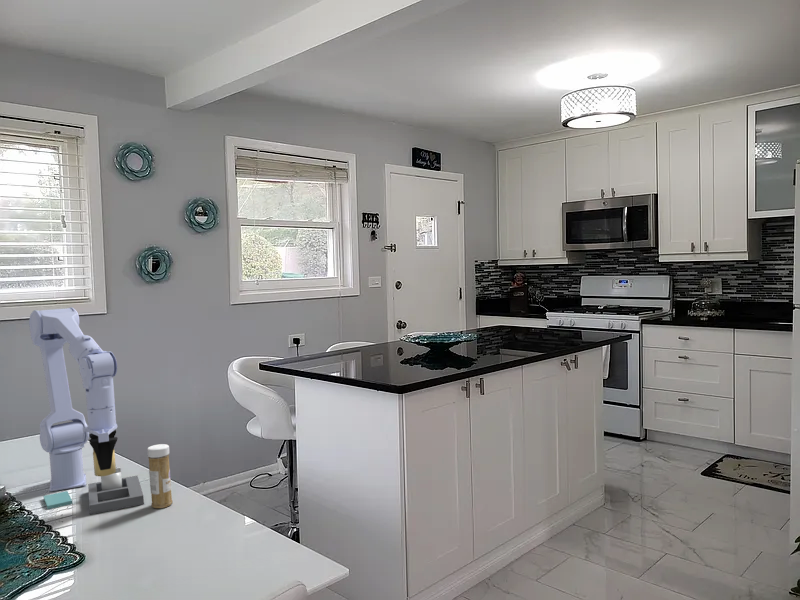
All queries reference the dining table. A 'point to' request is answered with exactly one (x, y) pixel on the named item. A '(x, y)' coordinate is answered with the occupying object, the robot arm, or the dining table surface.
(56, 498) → the lid plate
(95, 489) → the housing
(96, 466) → the beige cylinder with tab
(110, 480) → the grey knob with ridge
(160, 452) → the spice jar
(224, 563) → the dining table surface
